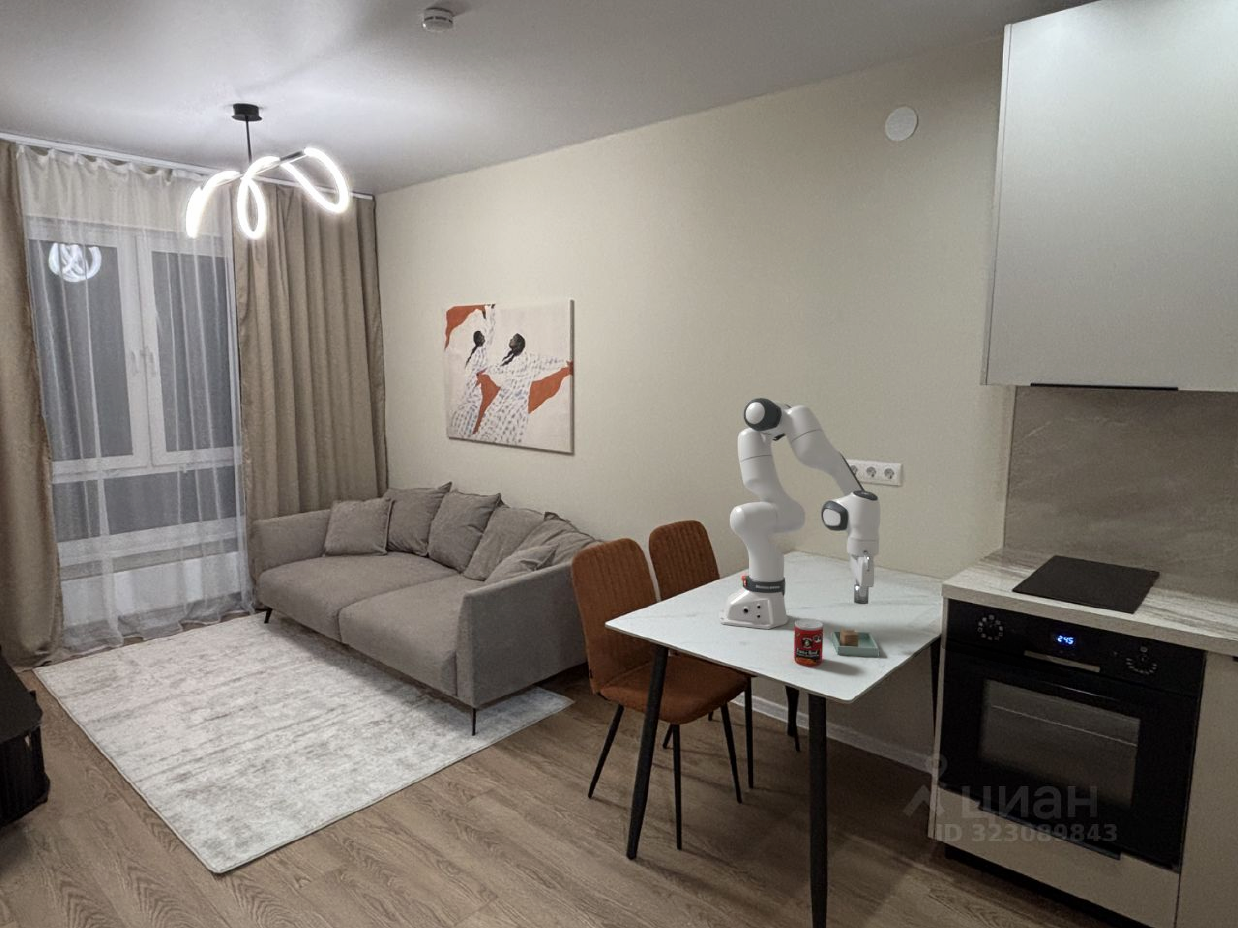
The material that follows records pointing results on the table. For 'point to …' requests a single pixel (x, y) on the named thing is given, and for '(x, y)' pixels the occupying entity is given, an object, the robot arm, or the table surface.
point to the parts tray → (864, 645)
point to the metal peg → (858, 598)
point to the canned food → (808, 642)
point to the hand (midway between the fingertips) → (860, 593)
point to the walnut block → (848, 638)
